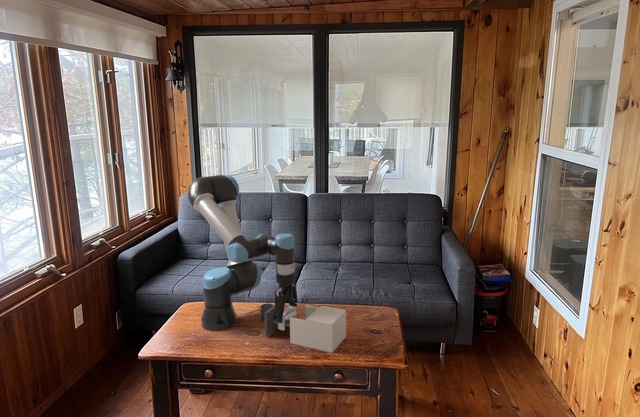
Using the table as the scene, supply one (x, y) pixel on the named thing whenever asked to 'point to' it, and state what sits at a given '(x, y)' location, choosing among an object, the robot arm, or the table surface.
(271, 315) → the grey plate and rod
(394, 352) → the table surface
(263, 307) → the stand
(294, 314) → the disc
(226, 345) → the table surface
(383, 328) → the table surface
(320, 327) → the housing
